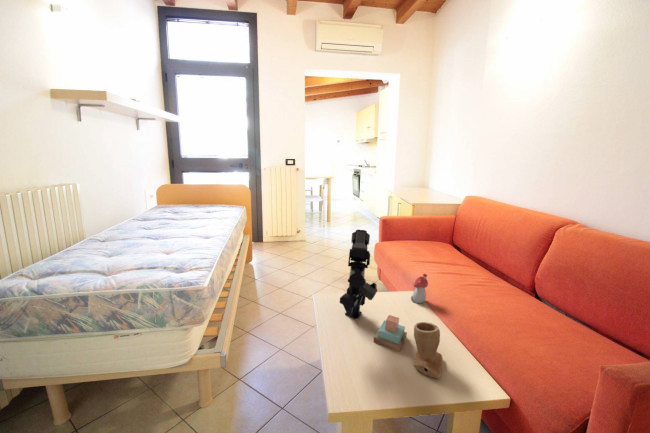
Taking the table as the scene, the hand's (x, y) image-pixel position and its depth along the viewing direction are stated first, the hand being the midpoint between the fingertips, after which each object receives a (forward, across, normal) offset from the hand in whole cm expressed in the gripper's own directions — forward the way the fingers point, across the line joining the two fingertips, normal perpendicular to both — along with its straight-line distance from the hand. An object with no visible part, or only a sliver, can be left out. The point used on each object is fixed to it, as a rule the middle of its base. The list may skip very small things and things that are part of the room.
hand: (353, 311), depth 126 cm
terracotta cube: (+7, +7, -15) cm, 18 cm away
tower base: (+13, +8, -15) cm, 21 cm away
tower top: (+10, +8, -15) cm, 19 cm away
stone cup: (+12, 0, -30) cm, 33 cm away
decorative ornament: (+12, +50, -19) cm, 55 cm away
